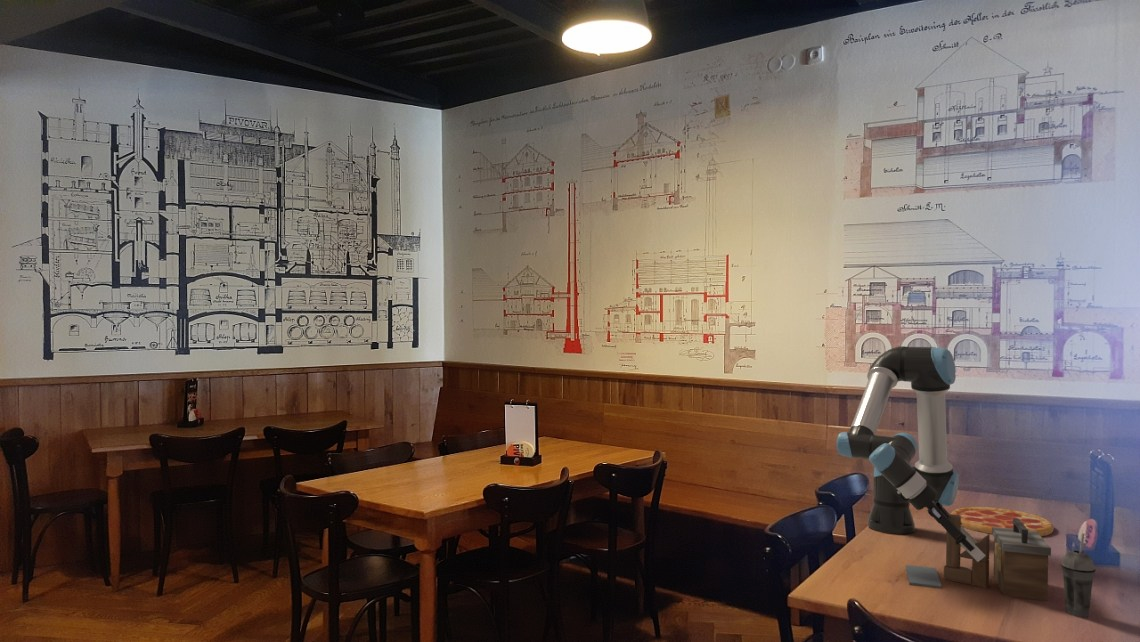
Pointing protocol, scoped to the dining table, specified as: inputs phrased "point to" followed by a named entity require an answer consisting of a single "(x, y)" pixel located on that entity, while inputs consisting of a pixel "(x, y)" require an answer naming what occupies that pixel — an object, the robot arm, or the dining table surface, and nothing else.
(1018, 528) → the toolbox
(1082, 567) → the beverage cup
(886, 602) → the dining table surface
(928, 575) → the mat
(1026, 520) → the pizza
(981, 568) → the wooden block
